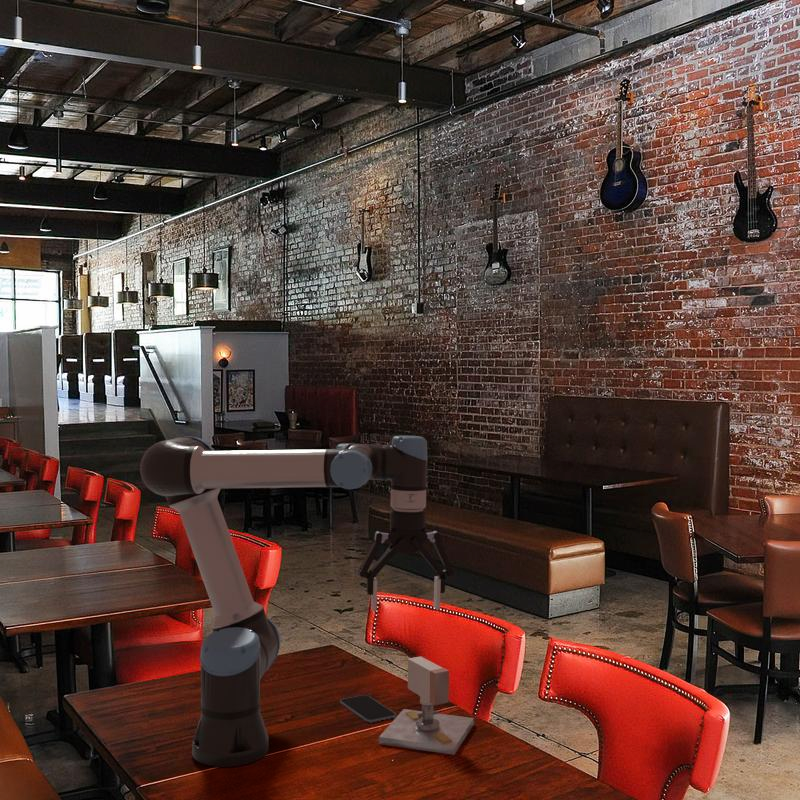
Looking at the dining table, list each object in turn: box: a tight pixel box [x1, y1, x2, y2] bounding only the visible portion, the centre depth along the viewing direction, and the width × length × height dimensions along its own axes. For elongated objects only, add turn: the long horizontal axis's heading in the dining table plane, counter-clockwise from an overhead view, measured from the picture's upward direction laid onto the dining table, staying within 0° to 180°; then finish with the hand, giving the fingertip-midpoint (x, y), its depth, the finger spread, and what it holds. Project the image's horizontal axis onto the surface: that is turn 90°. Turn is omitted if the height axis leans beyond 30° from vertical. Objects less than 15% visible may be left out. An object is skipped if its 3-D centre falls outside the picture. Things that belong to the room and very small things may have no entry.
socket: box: [378, 704, 475, 756], centre depth 186 cm, size 16×16×6 cm
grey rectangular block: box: [407, 655, 450, 706], centre depth 185 cm, size 11×3×8 cm, turn 31°
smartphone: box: [339, 694, 397, 724], centre depth 200 cm, size 7×1×15 cm
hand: (405, 609), depth 186 cm, fingers open, 13 cm apart
